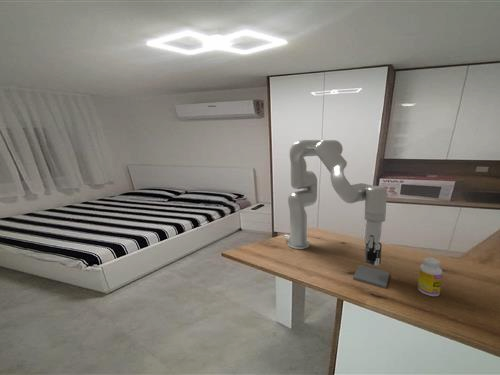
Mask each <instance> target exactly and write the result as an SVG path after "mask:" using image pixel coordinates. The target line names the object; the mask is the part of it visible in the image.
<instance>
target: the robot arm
mask: <svg viewBox="0 0 500 375" xmlns="http://www.w3.org/2000/svg"><path fill="white" fill-rule="evenodd" d="M342 153H343V145H342V143H341V142H340V141H339V140H335V139H326V140H325V139H324V140H323V139H301V140H298V141H295V142H294V143H293V144H292V145H291V146H290V148H289V162H290V186H291V187H292V188H293V189H295V190H297V191H293V192H292V193H291V194H289V195H288V198H287V203H288V208H289V235H288V234H284V240H285V241H286V240H287V246H288V247H289V248H291V249H296V250H305V249H308V248H309V247H310V242H309V241H308V214H307V212H306V210H305V208H307V207H310V206H313V205H315V204H316V202H317V199H318V178H317V175H316V174H315V172H313V171H312V170H307V162H306V159H305V157H318V158H319V160H320V161H321V163H322V164H323V165H324V167H325V168H326V169H327V170H328V171H329V173H330V182H331V186H332V188H333V190H334V191H335V192H336V194H337V195H338V197H339V198H340V199H341V200H343V202H345V203H346V204H355V203H358V202H363V201H364V220H365V221H366V223H365V233H364V245H366V244H367V243H368V250H367V260H370V261H376V246H377V245H378V243H379V242H380V241H381V235H382V227H383V226H382V224H383V223H384V222H385V221H386V214H387V212H386V211H387V198H388V197H387V196H388V189H387V188H386V187H385V186H382V185H372V184H371V185H370V184H367V183H362V182H361V183H355V184H354V183H353V184H351V183H350V182H349V180H348V179H347V178H346V176H345V173H344V170H345V169H346V167H347V165H348V162H347V160H346V159H345V158H344V157H343V155H342ZM302 189H303V190H302ZM373 243H375V244H373ZM373 246H374V247H373Z"/></svg>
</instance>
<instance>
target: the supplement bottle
mask: <svg viewBox="0 0 500 375" xmlns="http://www.w3.org/2000/svg"><path fill="white" fill-rule="evenodd" d="M440 265H441V261H440V260H438V259H436V258H434V257H424V258H423V263H422V264H420V266H419V274H418V281H417V289H418V291H419V292H421V294H423V295H426V296H429V297H438V296H440V293H441V287H442V279H443V278H442V277H443V270H442V269H441V267H440Z"/></svg>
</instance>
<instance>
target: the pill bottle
mask: <svg viewBox="0 0 500 375" xmlns="http://www.w3.org/2000/svg"><path fill="white" fill-rule="evenodd" d="M373 244H375V243H373ZM373 247H374V246H373ZM367 250H368V243H367V244H365V251H364V261H365V263H366V264H368V265H370V266H380V265H381V263H382V243H381V242H380V241H379V243H378V245H377V246H376V261H370V260H367Z"/></svg>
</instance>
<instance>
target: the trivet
mask: <svg viewBox="0 0 500 375" xmlns="http://www.w3.org/2000/svg"><path fill="white" fill-rule="evenodd" d="M389 277H390V271H389V272H388V271H385V270H381V269H378V268H374V267H369V266H366V265H363V264H362V265H361V264H359V265H358V266H357V268H356V271H355V272H354V275H353V280H356V281H359V282H361V283H365V284H369V285H373V286H375V287H379V288H382V289H387V285H388V282H389Z"/></svg>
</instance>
